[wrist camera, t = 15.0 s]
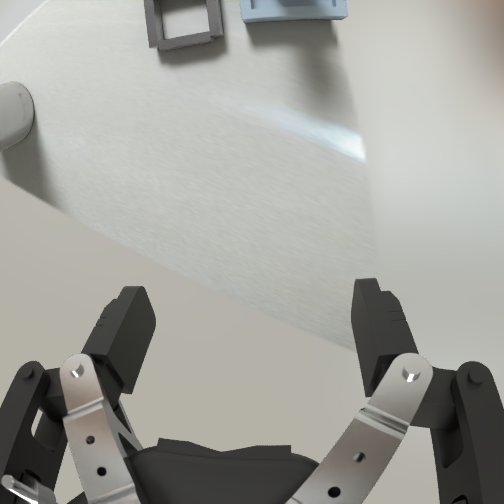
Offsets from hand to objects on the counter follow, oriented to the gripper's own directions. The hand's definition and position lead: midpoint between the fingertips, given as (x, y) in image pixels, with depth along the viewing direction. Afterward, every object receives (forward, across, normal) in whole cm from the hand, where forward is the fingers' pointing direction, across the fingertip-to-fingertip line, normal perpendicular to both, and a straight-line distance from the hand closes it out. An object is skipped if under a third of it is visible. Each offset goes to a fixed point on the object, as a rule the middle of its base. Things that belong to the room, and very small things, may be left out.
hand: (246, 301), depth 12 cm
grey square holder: (+26, +7, -15) cm, 31 cm away
